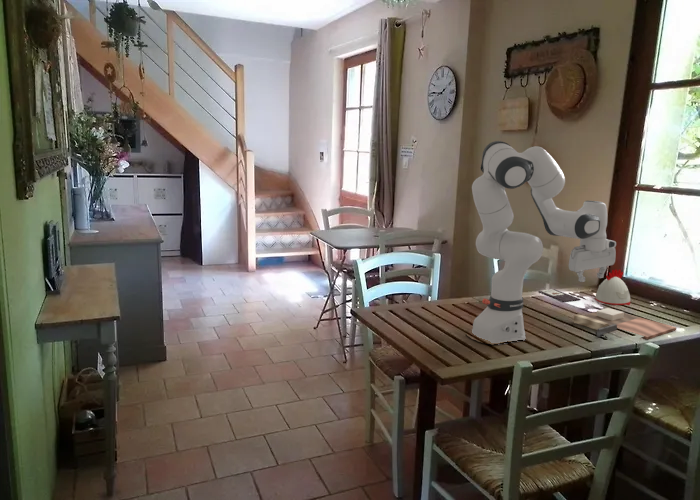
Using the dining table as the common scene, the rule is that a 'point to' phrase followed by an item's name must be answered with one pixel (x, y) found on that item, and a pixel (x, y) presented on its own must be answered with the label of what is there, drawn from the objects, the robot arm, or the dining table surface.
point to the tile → (610, 314)
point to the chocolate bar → (559, 295)
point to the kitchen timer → (613, 290)
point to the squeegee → (594, 324)
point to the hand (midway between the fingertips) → (591, 279)
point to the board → (637, 325)
